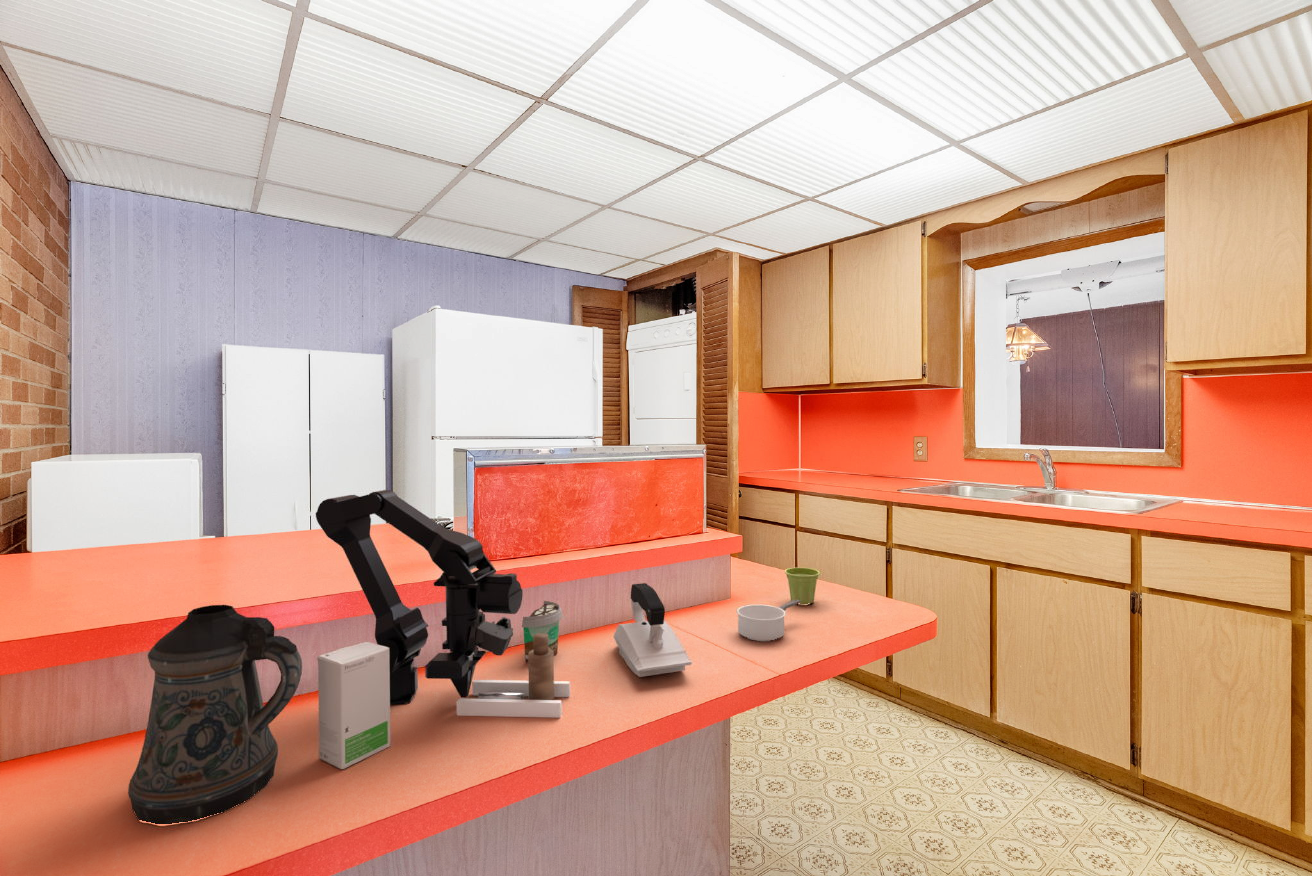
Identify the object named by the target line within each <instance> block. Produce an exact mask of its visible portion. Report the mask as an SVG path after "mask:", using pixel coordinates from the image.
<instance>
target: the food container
mask: <svg viewBox="0 0 1312 876" xmlns="http://www.w3.org/2000/svg"><path fill="white" fill-rule="evenodd" d="M563 617H564V616H563V612H562V608H561V606H560V604H559V603H558V602H554V601H549V600H543V605H541V607H540V608H537V609H534V611H533V612H532V613H531V614H530V615H529V616H522V622H521V623H522V625H521V627H522V628H523V641H524V643H523V644H524V658H525V659H524V660H525V661H524V662H525V663H527V662H528V653H529V652H530V651H531V650H533V636H534V635H535V634H539V633H545V634H548V648H549V649H552V650H553V651H554V656H555V657H556V656H557V655H558V647H559V632H560V621H561V620H562V619H563Z"/></svg>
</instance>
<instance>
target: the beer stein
mask: <svg viewBox="0 0 1312 876" xmlns="http://www.w3.org/2000/svg"><path fill="white" fill-rule="evenodd" d="M275 628H276V627H275V626H274V625H273V623H272V622H271V621H270V620H269V619H268V618H267V617H262V616H261V617H260V616H257V617H256V616H253V617H252V616H251V617H247V616H244V615H242V614H241V613H238V612H237V610H236V609H235V607H234V606H233V605H227V604H211V605H204V606H200V607H197V608H193V609H192V610H190V611H189V612H188V613H187V617H186V619H185V620H183V621H182V622H180V623H179V624H178V625H177V626H175V627H174V628H173V629H172V630H170V631H169V632H167V633H166V634H165V635H163V636H161V638H159V640H158V641H156V643H155V644H154V645H153V646H152V648H150V650H149V652H148V653H147V660H148V662H149V665H150V668H151V669H152V671H154V680H153V681H154V682H153V688H152V695H151V701H150V708H149V711H148V712H149V714H148V721H147V726H146V729H145V734H144V735H145V736H144V739H143V740H144V741H143V746H142V749H141V753H140V757H139V760H138V763H137V765H136V768H135V770H134V772H133V773H132V777H131V778H130V780H129V783H128V787H127V788H128V790H127V795H128V797H129V799H130V802H131V810H132V812H133V813H134V812H135V813H134V815H135V814H136V815H135V817H136V816H137V817H136V819H137V818H138V819H139V820H142V821H146V822H151V823H155V824H172V823H179V822H188V821H192V820H197V819H200V818H204V817H207V816H210V815H214V814H217V813H221V812H223V813H225V812H224V811H225V810H228V809H230V808H232V807H234V806H236V805H238V804H240V805H242V804H244V803H245V802H244V801H246V800H248V799H249V800H251V798H250V797H252V796H253V797H254V796H255V795H257V794H258V793H259V792H260V790H261V789H262V788H263V789H265V786H266V785H267V786H268V785H269V783H270V781H271V780H272V778H273V777H274V775H275V769H276V768H275V766H276V764H277V763H276V762H277V760H278V759H277V758H278V755H279V747H278V742H277V740H276V739H275V737H274V735H273V733H272V731H271V729H270V724H271V723H272V722H273V721H274V720H276V718H277V717H278V716H279V715H280V713H281V712H283V710H284V709H285V708H286V707H287V705H288V704H289V702H291V700H292V698H293V697H294V695H295V693H296V691H297V689H298V687H299V684H300V682H301V677H302V675H303V674H302V673H303V660H302V656H301V654H300V653H299V651H298V648H297V645H296V644H295V643H294V642H292V641H291V640H290V639H289V638H287V637H285V636H282V635H275ZM262 660H269V661H271V662H274V663H275V664H276V665H277V667H278V669H279V671H280V672H279V673H280V681H279V683H278V686H276V690H275V692H274V693H273V695H272V696H271V697H270V699H269V700H268V701H267V702H266V703H265V704H264V700H263V696H262V691H261V690H262V689H261V684H260V680H259V674H258V670H257V664H256V663H257V662H256V661H262ZM270 779H271V780H270ZM268 782H269V783H268ZM267 786H266V787H267ZM263 789H262V790H263ZM262 790H261V791H262ZM258 791H259V792H258ZM257 792H258V793H257ZM256 793H257V794H256ZM254 794H255V795H254ZM253 797H252V798H253ZM249 800H248V801H249ZM243 802H244V803H243ZM246 802H247V801H246ZM241 803H242V804H241ZM238 806H239V805H238ZM236 807H237V806H236ZM234 808H235V807H234ZM232 809H233V808H232ZM230 810H231V809H230ZM228 811H229V810H228ZM221 814H222V813H221ZM138 819H137V820H138Z"/></svg>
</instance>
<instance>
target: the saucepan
mask: <svg viewBox="0 0 1312 876" xmlns="http://www.w3.org/2000/svg"><path fill="white" fill-rule="evenodd" d="M797 603H800V600H797V599H796V600H794V601H791V600H790V601H789V602H786V603H783V604H781V605H780V606H779V607H778V606H775V605H768V604H748V605H747V604H746V605H743V606H740V607H738V608H737V609H736V613H737V622H738V623H737V628H738V629H737V631H738V633H739V634H740V635H741V636H743V637H745V638H746V637H747V638H746V639H748V640H751V641H755V640H756V642H771V641H770V640H773V641H776V640H778V639H780V638H782V637H783V636H784V635H785V616H786V615H787V613H786V612H787V611H786V610H787V609H788V608H790V607H794V606H795V605H797ZM777 638H778V639H777ZM775 639H776V640H775Z"/></svg>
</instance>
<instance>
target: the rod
mask: <svg viewBox="0 0 1312 876" xmlns="http://www.w3.org/2000/svg"><path fill="white" fill-rule="evenodd" d="M477 699H514V700H526V696H525V693H505V692H479V695H477Z"/></svg>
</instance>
